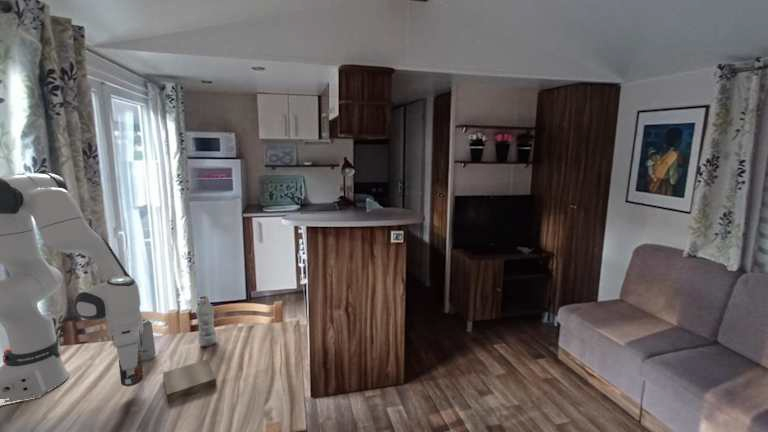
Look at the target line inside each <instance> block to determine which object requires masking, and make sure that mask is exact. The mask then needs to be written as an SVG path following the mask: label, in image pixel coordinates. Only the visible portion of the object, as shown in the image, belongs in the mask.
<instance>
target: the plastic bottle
mask: <svg viewBox="0 0 768 432" xmlns="http://www.w3.org/2000/svg"><path fill="white" fill-rule="evenodd" d="M198 304H199V305H198V306H197V308H196V310H195V314H196V319H197V323H198V338H197V339H198V345H200V346H201V347H209V346H210V347H211V346H213V345H214V344H215V343H216V342H217V339H218V337H217V333H216V329H215V326H214V325H215V324H214V323H215V321H214V319H215V317H214V316H215V308H214V305H212V304H211V303H210V297H209V296H207V295H203V296H199V297H198Z"/></svg>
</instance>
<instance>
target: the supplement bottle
mask: <svg viewBox="0 0 768 432" xmlns="http://www.w3.org/2000/svg"><path fill="white" fill-rule="evenodd" d="M118 366H119V376H120V384H121V385H122V386H124V387H132V386H135V385H137V384H139V383H141V382H142V381H143V380H144V373H143V372H144V371H143V362H142V359H141V354H140V353H139V352H138V361H137V367H136V368H134V372H135V373H134V374H133V375H128V374H127V370H123V369H122V367H121V364H120V360H119V359H118Z"/></svg>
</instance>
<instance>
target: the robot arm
mask: <svg viewBox="0 0 768 432" xmlns="http://www.w3.org/2000/svg"><path fill="white" fill-rule="evenodd" d="M78 205H79V204H78V203H77V202H76V200H75V199H74V198H73V196H72V195H71V193H70V192H69V191H68V186H67V182H66V181H65V180H64V179H63V177H61V176H60V175H57V174H55V173H49V172H39V173H36V172H35V173H30V172H29V173H17V174H10V175H3V176H0V265H3V266H4V267H5V269H6V270H7V271H8V274H9V277H6V278H5V279H2V280H0V324H1V326H2V327H3V329H4V330H5V333H6V335H7V336H6V337H7V340H8V344H9V347H7V348H5V350H4V351H3V356H2V357H3V358H2V362H3V364H2V365H1V366H0V399H7V398H9V400H5V402H6V403H7V402H13V401H17V400H24V399H30V398H37V397H39V396H41V397H43V396H44V395H46V394H47V393H48V392H49V391H48V390H50V389H52V388H54V387H55V386H57V385H59V384H61V383H62V382H64V381H65V380H66V379H67V377H68V375H69V376H70V373H69V371H67V369H66V366H65V364H64V362H63V360H62V357H61V353H62V351H61V346H60V342H59V339H58V338H57V335H56V329H55V324H54V320H53V318H52V317H51V316H50V315H46V314H42V313H41V311H40V310H39V307H38V304H39V302H41V301H43V300H45V299H47V298H49V297H50V296H53V294H54V293H55V292H57V291H58V290H59V289H60V288H61V287H62V286H63V283H64V277H63V274H62V272H61V271H60V270H59V269H58V268H56V267H54V266H51V265H50V264H49V263H48V262H47V261H46V259H45V257H43V254H42V252H41V250H40V247H39V243H38V238H37V234H36V230H35V226H34V222H35V225H36V227H37V229H38V232H39V234H40V236H41V238H42V240H43V242H44V243H45V244H46V246H48V247H49V248H51V249H52V250H54V251H58V252H61V253H66V254H80V255H84V256H87V257H89V258H90V259H92V260H93V261H94V262H95V264H96V267H98V269H99V271H100V272H101V273H102V275H103V277H104V278H105V281H104V282H102V283H99V284H97V285H95V286H92V287H89V288H86V289H85V290H83V291H80V292H79V293H78V294H76V297H75V299H74V301H73V306H74V310H75V312H76V314H77V316H79V317H80V318H82V319H84V320H88V321H93V320H94V321H97V320H103V319H106V320H107V329H108V337H109V338H110V339H111V341H112V343H113V344H112V345H113V347H114V348H116V351H117V356H118V361H119V360H120V364H121V367H122V369H123V370H127V374H128V375H133V374H134V373H135V372H134V368H136V367H137V361H138V342H139V341H140V335H141V333H142V331H143V321H142V319H143V313H142V312H141V309H140V308H141V295H140V290H139V286H138V283H137V282H136V280H135V279H134V278H133V277H132V276H131V275H130V274H129V273H128V272H127V271H126V269H125V268H124V266H123V264H122V263H121V262H120V260H119V258H118V256H117V255H116V254H115V252H114V250H113V249H112V247H111V246H110V244H109V243H108V241H107V240H106V238H104V237H103V235H101V234H99V233H97V232H95V231H94V230H93V228H91V226H90V225H89V224H88V222H87V221H86V219H85V216H84V214H83V213H82V210H81V209H80V207H79V206H78ZM32 218H33V219H32ZM33 220H34V222H33ZM68 378H69V377H68ZM67 380H68V379H67ZM67 380H66V381H67ZM66 381H65V382H66ZM65 382H64V383H65ZM62 384H63V383H62ZM62 384H61V385H62ZM59 386H60V385H59ZM54 389H55V388H54ZM52 390H53V389H52ZM47 391H48V392H47ZM50 391H51V390H50ZM46 392H47V393H46ZM45 393H46V394H45ZM43 394H44V395H43ZM33 395H34V396H33ZM42 395H43V396H42ZM37 399H38V398H37ZM5 402H4V403H5Z"/></svg>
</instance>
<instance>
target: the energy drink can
mask: <svg viewBox="0 0 768 432" xmlns="http://www.w3.org/2000/svg"><path fill="white" fill-rule="evenodd" d="M142 321H143V331H142V333H141V335H140V341H139V342H138V352H139V353H140V354H141V359H142V363H143V362H147V361H150V360H152V359H154V357H155V355H156V347H155V346H156V345H155V339H154V330H153V323H152V321H150V319H149V318H147V317H145V318H143V317H142Z"/></svg>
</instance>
